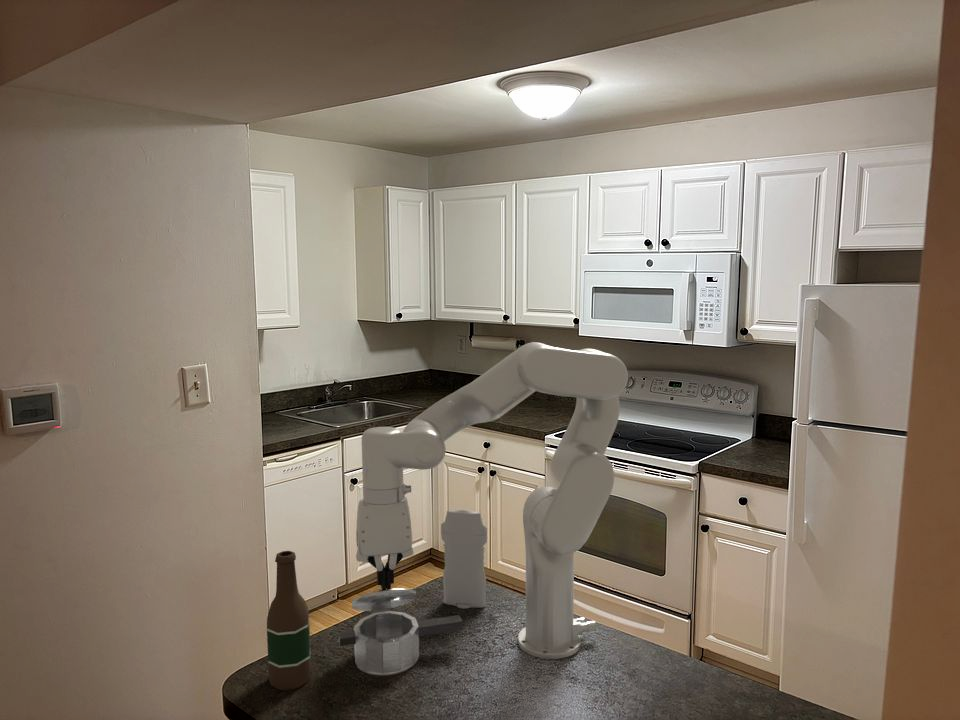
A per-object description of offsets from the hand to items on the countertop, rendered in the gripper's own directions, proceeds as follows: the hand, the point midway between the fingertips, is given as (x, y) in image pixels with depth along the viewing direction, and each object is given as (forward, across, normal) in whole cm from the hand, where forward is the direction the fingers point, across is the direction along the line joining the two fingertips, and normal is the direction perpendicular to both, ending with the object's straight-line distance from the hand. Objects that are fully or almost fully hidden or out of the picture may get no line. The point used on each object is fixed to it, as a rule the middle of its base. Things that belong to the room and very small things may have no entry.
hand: (385, 587), depth 131 cm
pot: (+15, -3, -1) cm, 15 cm away
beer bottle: (+15, +18, +1) cm, 23 cm away
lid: (+4, 0, -2) cm, 5 cm away
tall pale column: (+15, -20, -18) cm, 31 cm away
